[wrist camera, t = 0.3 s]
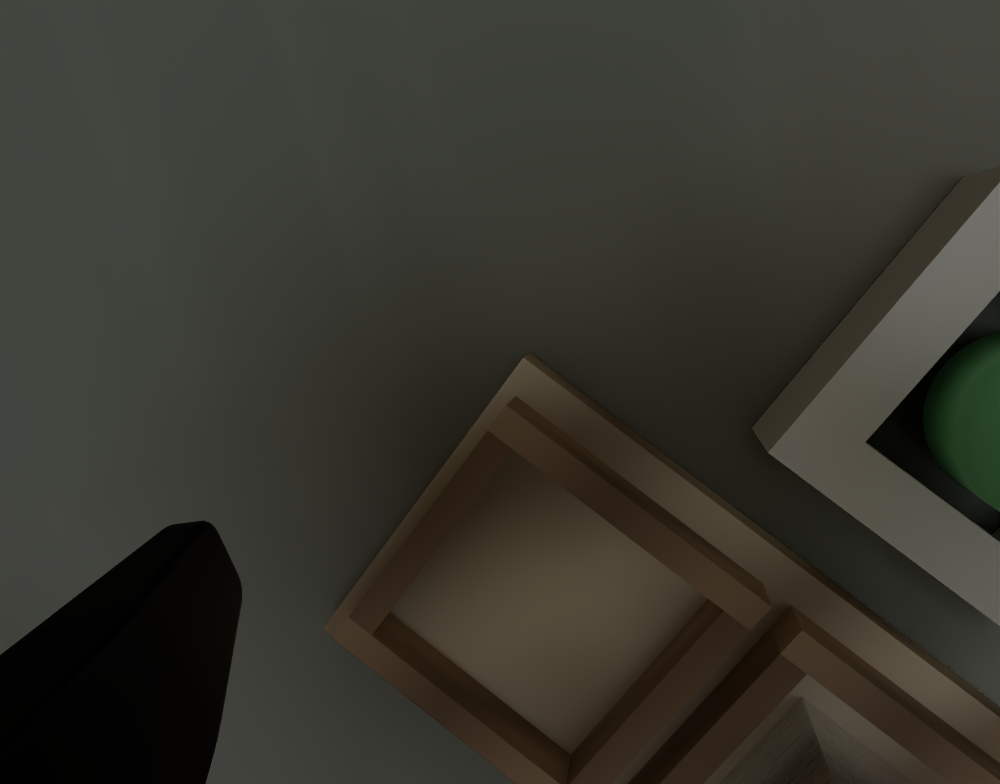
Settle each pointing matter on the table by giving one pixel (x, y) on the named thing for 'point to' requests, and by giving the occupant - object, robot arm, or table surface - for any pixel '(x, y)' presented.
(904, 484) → the button console
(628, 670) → the pallet board
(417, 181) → the table surface
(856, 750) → the block
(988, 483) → the button
